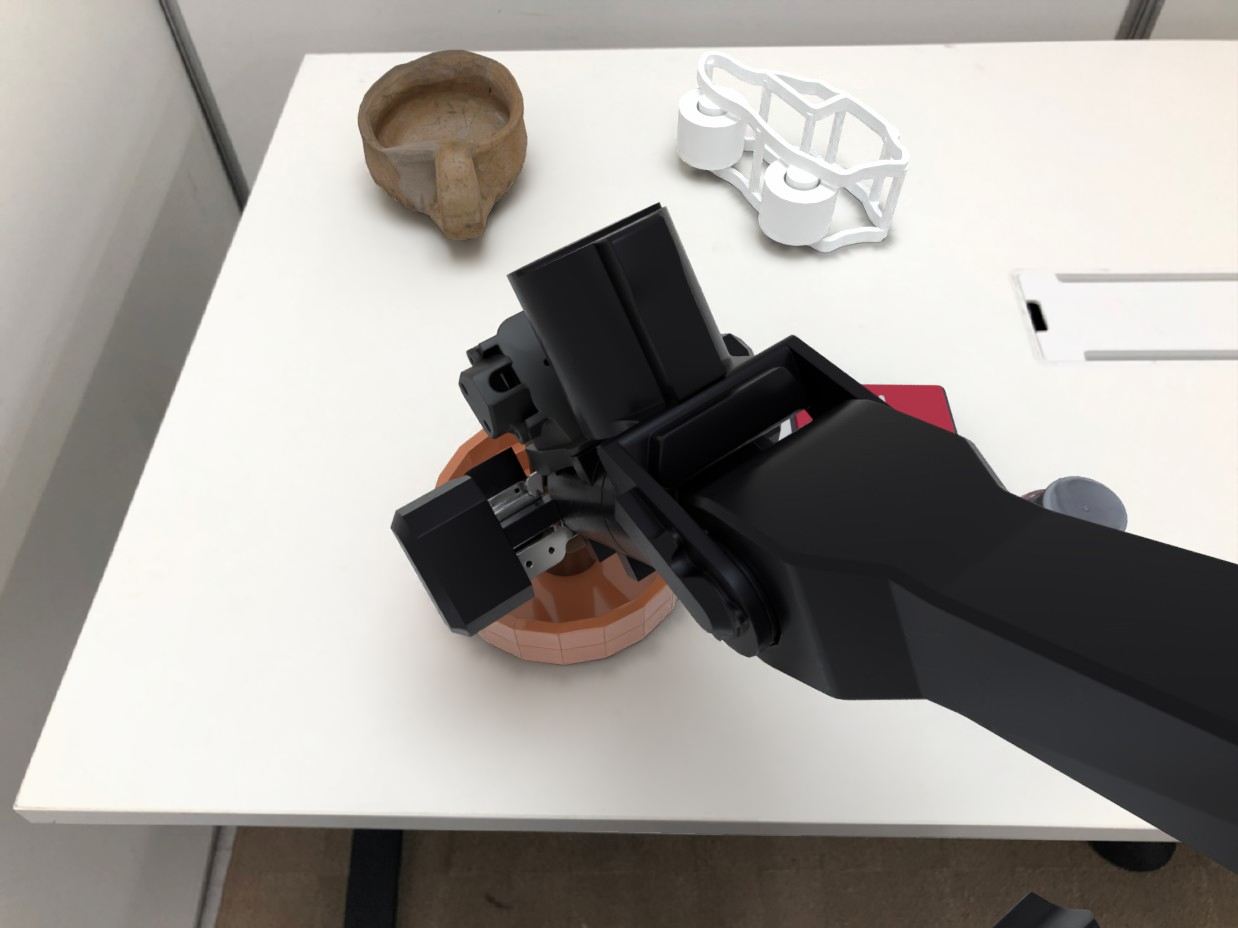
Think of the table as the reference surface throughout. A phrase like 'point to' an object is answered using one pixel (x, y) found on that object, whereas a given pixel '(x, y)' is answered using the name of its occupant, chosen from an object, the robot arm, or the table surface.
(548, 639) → the mixing bowl
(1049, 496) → the supplement bottle
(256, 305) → the table surface
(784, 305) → the table surface
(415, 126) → the tan clay cup
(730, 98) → the wheeled car silhouette
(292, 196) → the table surface
